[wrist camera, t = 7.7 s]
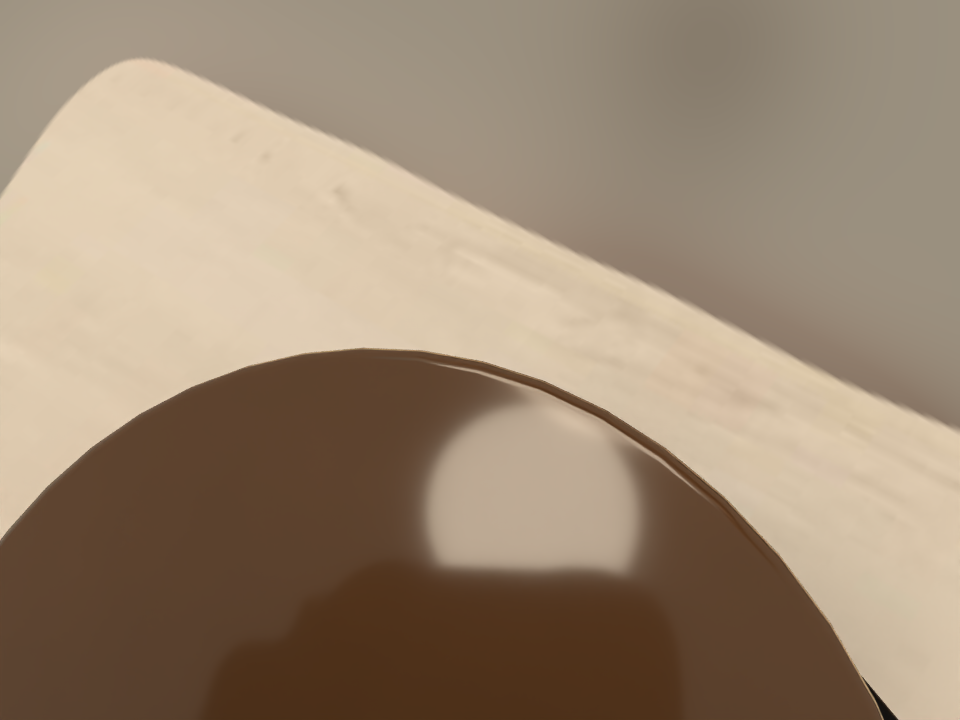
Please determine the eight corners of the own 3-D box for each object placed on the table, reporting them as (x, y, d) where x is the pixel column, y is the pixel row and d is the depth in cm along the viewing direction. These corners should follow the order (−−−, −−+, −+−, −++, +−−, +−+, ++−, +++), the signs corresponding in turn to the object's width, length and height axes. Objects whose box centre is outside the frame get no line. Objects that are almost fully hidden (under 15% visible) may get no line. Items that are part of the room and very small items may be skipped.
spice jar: (649, 678, 14) (1103, 2048, 2) (423, 662, 15) (-258, 1500, 3) (640, 443, 15) (892, 331, 3) (429, 442, 16) (-47, 353, 4)
